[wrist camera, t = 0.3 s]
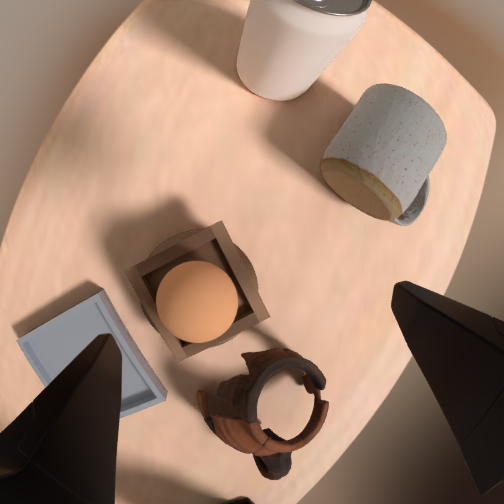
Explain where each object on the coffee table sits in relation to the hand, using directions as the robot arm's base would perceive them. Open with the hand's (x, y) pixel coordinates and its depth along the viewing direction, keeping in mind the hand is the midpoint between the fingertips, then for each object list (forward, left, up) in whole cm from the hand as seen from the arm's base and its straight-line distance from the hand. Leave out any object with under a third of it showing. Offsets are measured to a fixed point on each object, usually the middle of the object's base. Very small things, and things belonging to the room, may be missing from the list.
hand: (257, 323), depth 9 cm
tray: (-3, +15, -15) cm, 21 cm away
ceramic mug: (+1, -14, -15) cm, 21 cm away
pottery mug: (-12, +3, -15) cm, 19 cm away
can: (+12, -10, -15) cm, 22 cm away
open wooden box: (-1, +3, -15) cm, 15 cm away
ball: (-1, +3, -9) cm, 10 cm away
